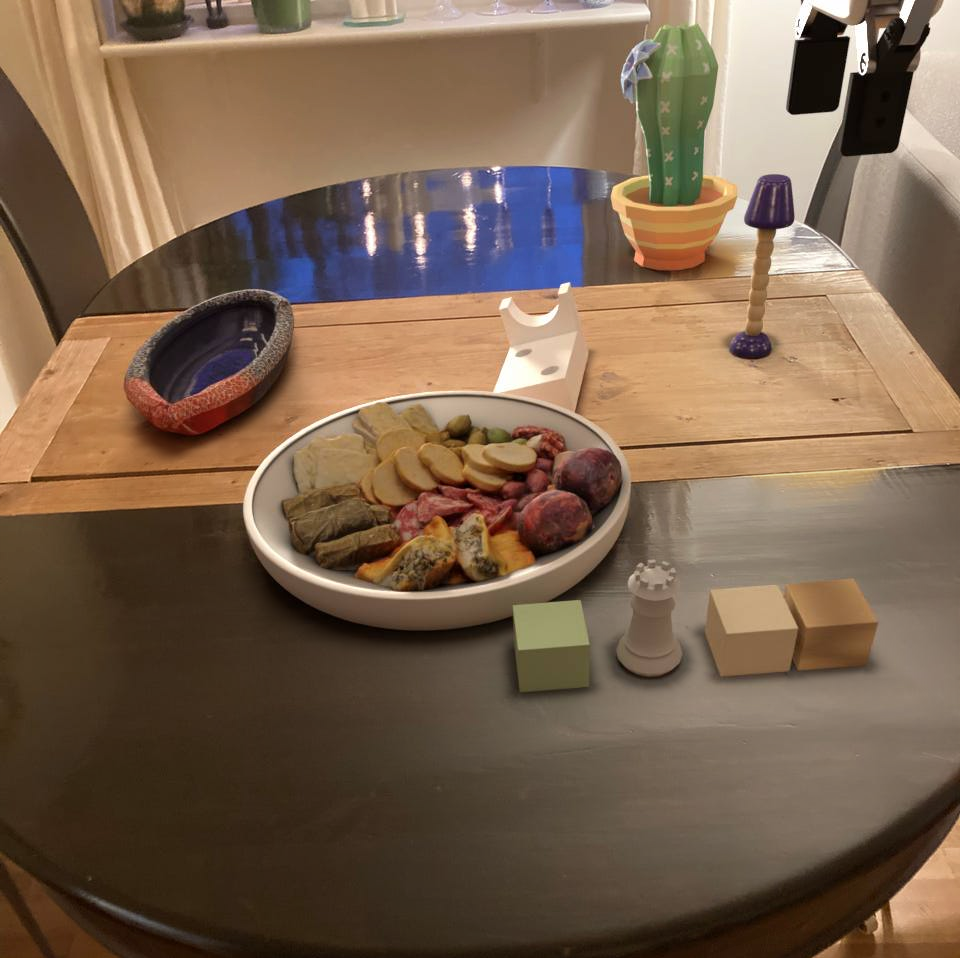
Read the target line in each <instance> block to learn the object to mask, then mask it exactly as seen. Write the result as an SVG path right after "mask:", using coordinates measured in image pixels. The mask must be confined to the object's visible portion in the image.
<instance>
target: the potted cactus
mask: <svg viewBox="0 0 960 958" xmlns="http://www.w3.org/2000/svg"><path fill="white" fill-rule="evenodd" d="M718 73H719V63H718V60H717V58H716V55H715V52H714V48H713V47H712V46H711V44H710V42H709V40H708V39H707V36H706V35H705V34H704V32H703V29H702V28H701V26H700V25H699V23H697V22H696V23H694V24H692V25H688V24H687V22H681V23H680V24H678V25H677V26H672V25H670V24H664V25H663V27H661V26H660V28H659V29H658V31H657V32H656V34H655V36H654V37H653V39H652V38H650V39H648V38H647V39H645V40H643V41H640V42H638V44H636V45H635V46H634V47H633V48H631V51H630V53H629V54H628V56H627V57H626V60H625V63H624V64H623V67H622V70H621V74H620V85H621V90H622V95H623V99H624V100H625V99H628V100H629V102H630V104H631V105H634V104H635V113H636V117H637V119H638V122H639V125H640V128H641V132H642V134H643V137H644V144H645V154H646V162H647V172H648V175H641V176H636V177H631V178H629V179H627V180H625V181H622V182H620V183H617V184H615V185H614V186H613V187H612V191H611V194H610V200H611V207H612V210H613V211H615V212H617V213H618V217H619V219H620V224H621V226H622V230H623V233H624V235H625V237H626V239H627V240H628V242H629V243H630V245H631V246H632V248H633V249H634V250H635V254H634V259H633V261H634V262H635V263H637V264H638V265H639V266H640V267H642V268H645V269H646V268H647V269H650V270H651V269H652V270H656V271H682V270H687V269H693V268H696V267H697V266H699V265H701V264H702V263H705V261H706V252H705V251H706V250H707V248H708V247H709V246H710V245H711V244H712V242H713V241H715V239H716V237H717V236H718V235H719V233H720V231H721V228H722V225H723V224H724V221H725V219H726V216H727V214H728V212H730V211H732V210H734V208H735V206H736V202H737V199H738V196H739V195H738V194H739V193H738V192H739V191H738V185H737V184H735V183H733V182H731V181H729V180H727V179H725V178H723V177H722V176H721V177H720V176H715V175H709V174H704V159H705V158H704V157H705V131H706V129H707V125H708V122H709V119H710V116H711V113H712V110H713V107H714V101H715V96H716V95H715V94H716V87H717V80H718Z"/></svg>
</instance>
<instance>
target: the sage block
mask: <svg viewBox="0 0 960 958" xmlns="http://www.w3.org/2000/svg"><path fill="white" fill-rule="evenodd" d="M512 622H513V623H512V624H513V640H514V641H513V642H514V643H513V645H514V654H515V663H516V664H515V665H516V671H517V681H518V688H519V693H527V692H540V691H541V692H542V691H553V690H566V689H579V688H589V687H590V664H591V661H590V659H591V658H590V657H591V643H590V639H589V634H588V628H587V623H586V619H585V615H584V609H583V604H582V600H581V599H576V600H575V599H573V600H563V601H562V600H561V601H548V602H546V603H535V604H522V605H513V616H512Z"/></svg>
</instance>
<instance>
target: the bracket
mask: <svg viewBox="0 0 960 958" xmlns="http://www.w3.org/2000/svg"><path fill="white" fill-rule="evenodd" d="M557 299H558V303H557V305H556V306H555V307H554V309H552V310H551V311H550V312H548V313H546V314H543V315H531V314H528V313H526V312H524V311H522V310H521V309H520V308H519V307H518V306H517V305H516V304H515V302H514V299H513V297H512V296H511V297H507V298H504V299H502V300H501V303H500V305H499V307H498V312H499V315H500V319H501V322H502V325H503V329H504V331H505V335H506V338H507V341H508V344H509V349H508V352H507V355H506V357H505V360H504V362H503V365H502V368H501V371H500V373H499V376H498V378H497V381H496V384H495V386H494V389H493V391H492V392H497V393H506V394H512V395H519V396H524V397H529V398H533V399H537V400H541V401H545V402H548V403H551V404H554V405H557V406H560V407H563V408H565V409H567V410H570V411H572V412H574V413H576V409H577V404H578V399H579V396H580V391H581V387H582V382H583V379H584V374H585V370H586V365H587V362H588V359H589V348H588V345H587V341H586V337H585V333H584V329H583V326H582V322H581V318H580V315H579V310H578V307H577V303H576V299H575V295H574V292H573V288H572V284H571V282H570V281H569V282H565V283H561V284H560V286H559V289H558V292H557Z"/></svg>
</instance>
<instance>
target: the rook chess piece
mask: <svg viewBox="0 0 960 958" xmlns="http://www.w3.org/2000/svg"><path fill="white" fill-rule="evenodd" d="M627 586H628V590H629V591H630V592H631V593H632V594H633V596H632V597H631V598H630V601H629V603H630V607H631V608H632V616H631V620H630V625H629V628H628V629H627V630H626V631H625V633H624V635H623V636H621V638H620V640H619V642H618V644H617V647H616V650H615V651H616V656H617V659H618V661H619V662H620V663H621V664H622V665H623V666H624V667H625V668H626V669H627V670H628V671H629V672H631V673H633V674H635V675H638V676H642V677H647V678H648V677H649V678H650V677H660V676H663V675H665V674H669V672H670V671H672V670H674V669H675V668H676V667H677V666H678V665H679V664H680V663H681V661H682V657H683V650H682V648H681V647H682V646H681V644H680V641H679V640H678V639H677V636H676V634H675V633H674V632H673V621H672V612H673V611H674V610H675V607H676V606H677V605H676V600H675V598H674V597H675V596H676V595H677V594H678V593H680V590H681V587H682V584H681V581H680V578H679V577H678V576H677V571H676V569H675V567H672V568H671V563H669V562H667V561H665V560H663V561H662V562H661V565H656V559H648V560H647V563H646V566H645V564H644V563H643V562H639V563H638V564H637V565H636V566H635V570H634V573H633V574H631V575H630V576H629V578H628V581H627Z"/></svg>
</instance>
